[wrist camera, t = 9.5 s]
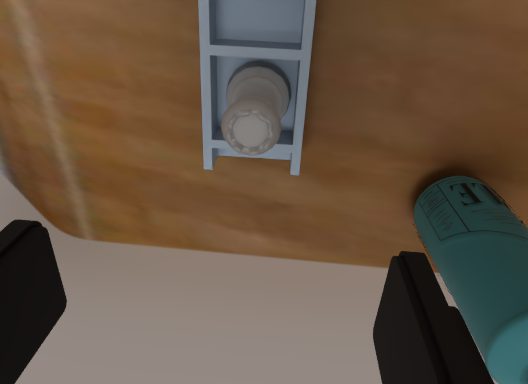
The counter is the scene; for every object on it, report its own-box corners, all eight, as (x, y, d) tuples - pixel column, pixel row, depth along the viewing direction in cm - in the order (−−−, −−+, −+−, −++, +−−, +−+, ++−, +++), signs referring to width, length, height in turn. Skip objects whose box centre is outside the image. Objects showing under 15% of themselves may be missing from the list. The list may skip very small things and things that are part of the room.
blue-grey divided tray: (327, -139, 23) (351, -207, 14) (299, 150, 31) (303, 218, 23) (206, -144, 23) (155, -215, 14) (212, 144, 32) (183, 210, 23)
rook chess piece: (258, 135, 29) (249, 187, 22) (214, 90, 27) (189, 131, 20) (304, 94, 27) (310, 136, 20) (260, 44, 26) (250, 71, 19)
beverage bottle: (409, 237, 35) (528, 501, 18) (401, 172, 32) (535, 413, 14) (487, 222, 34) (698, 490, 16) (486, 153, 31) (744, 392, 13)
